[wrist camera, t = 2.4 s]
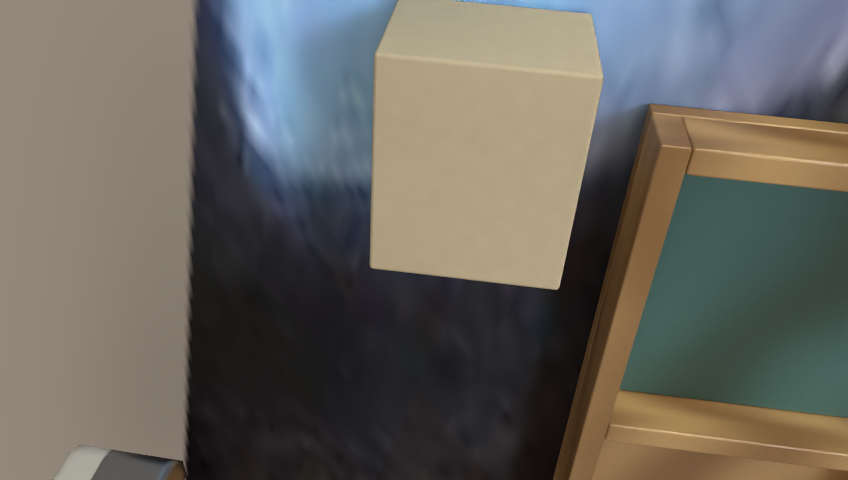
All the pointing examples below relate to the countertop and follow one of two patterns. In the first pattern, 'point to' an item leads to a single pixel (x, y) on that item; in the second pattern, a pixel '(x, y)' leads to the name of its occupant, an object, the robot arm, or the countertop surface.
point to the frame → (721, 308)
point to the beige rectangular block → (480, 139)
